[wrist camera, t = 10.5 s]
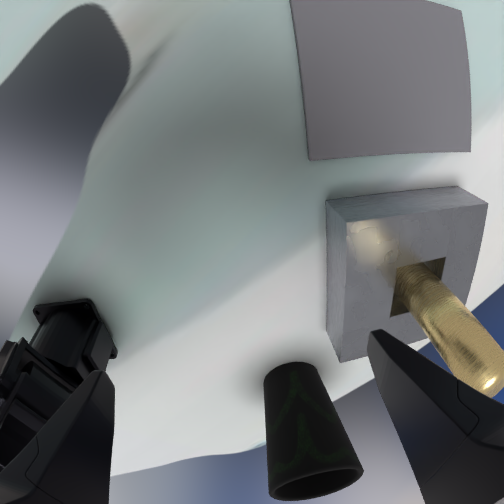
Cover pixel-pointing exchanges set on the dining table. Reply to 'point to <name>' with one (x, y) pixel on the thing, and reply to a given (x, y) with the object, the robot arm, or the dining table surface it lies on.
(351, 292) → the grey square hole block
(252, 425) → the dining table surface
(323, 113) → the mat
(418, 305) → the pin
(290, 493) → the cup
